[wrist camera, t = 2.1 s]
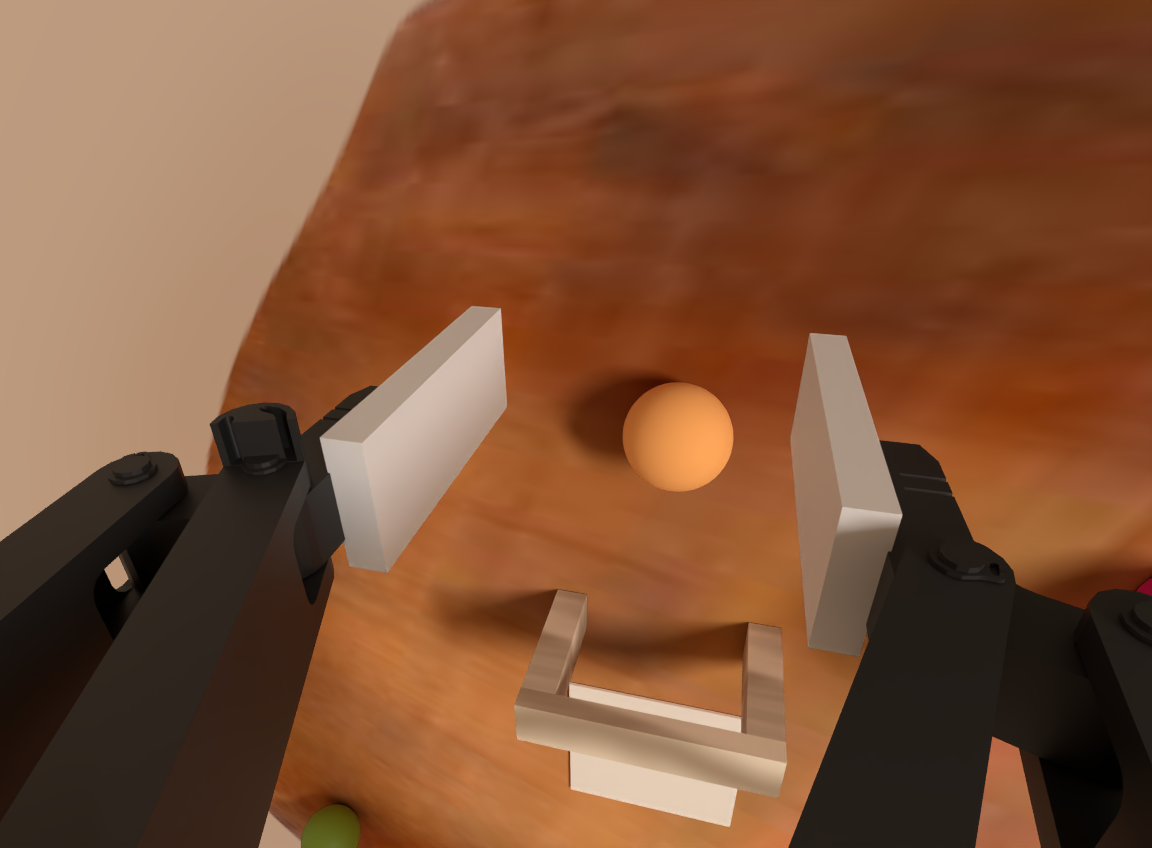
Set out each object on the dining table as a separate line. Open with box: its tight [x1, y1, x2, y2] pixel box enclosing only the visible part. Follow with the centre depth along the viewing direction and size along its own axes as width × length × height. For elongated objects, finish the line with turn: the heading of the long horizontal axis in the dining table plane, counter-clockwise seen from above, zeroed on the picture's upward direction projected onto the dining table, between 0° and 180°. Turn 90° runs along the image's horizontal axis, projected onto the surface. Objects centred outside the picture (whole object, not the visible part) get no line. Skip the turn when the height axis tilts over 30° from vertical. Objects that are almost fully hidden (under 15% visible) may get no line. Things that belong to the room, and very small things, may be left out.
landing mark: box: [569, 682, 741, 827], centre depth 50 cm, size 13×13×1 cm
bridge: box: [514, 590, 787, 798], centre depth 39 cm, size 3×14×9 cm, turn 90°
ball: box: [623, 382, 733, 492], centre depth 33 cm, size 6×6×6 cm
